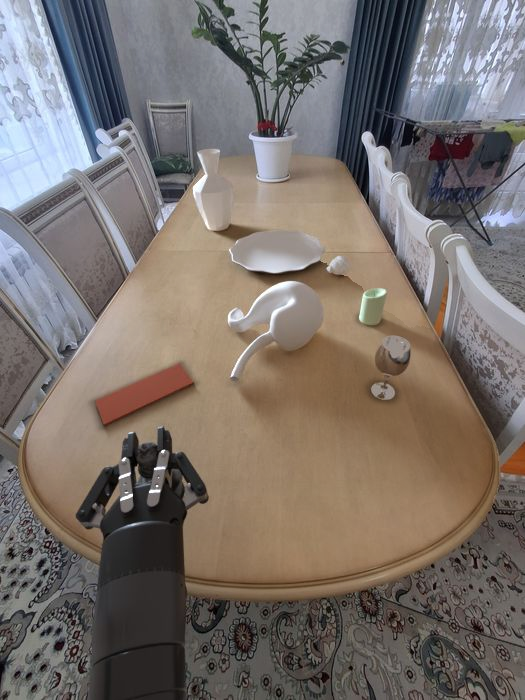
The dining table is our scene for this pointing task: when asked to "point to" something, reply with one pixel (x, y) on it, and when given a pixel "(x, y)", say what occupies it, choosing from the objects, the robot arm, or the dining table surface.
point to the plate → (277, 251)
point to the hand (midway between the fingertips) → (147, 433)
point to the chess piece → (148, 462)
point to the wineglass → (390, 363)
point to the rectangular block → (142, 393)
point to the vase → (214, 193)
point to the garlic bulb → (339, 265)
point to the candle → (372, 306)
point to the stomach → (279, 319)
